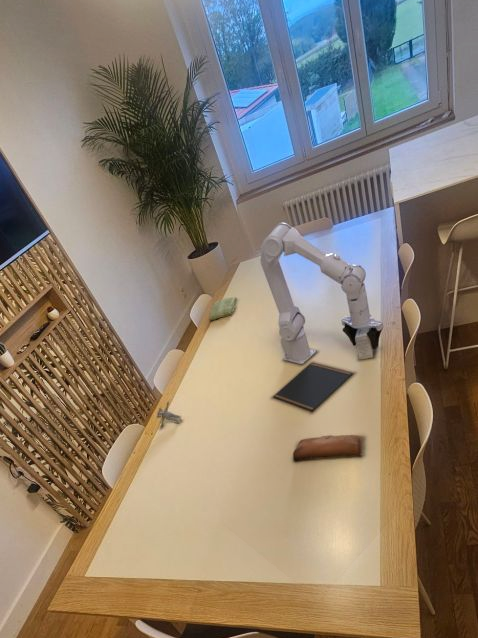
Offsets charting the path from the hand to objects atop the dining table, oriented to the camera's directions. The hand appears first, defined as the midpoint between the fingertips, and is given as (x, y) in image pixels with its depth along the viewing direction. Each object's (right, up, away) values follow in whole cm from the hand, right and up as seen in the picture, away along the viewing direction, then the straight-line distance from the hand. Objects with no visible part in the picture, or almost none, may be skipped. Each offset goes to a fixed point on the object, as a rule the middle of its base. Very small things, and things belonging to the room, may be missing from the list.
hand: (365, 345), depth 136 cm
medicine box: (+1, -2, +2) cm, 3 cm away
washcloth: (-49, +37, +70) cm, 93 cm away
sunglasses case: (-17, -35, -23) cm, 45 cm away
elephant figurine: (-66, -23, +17) cm, 72 cm away
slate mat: (-18, -13, 0) cm, 22 cm away
